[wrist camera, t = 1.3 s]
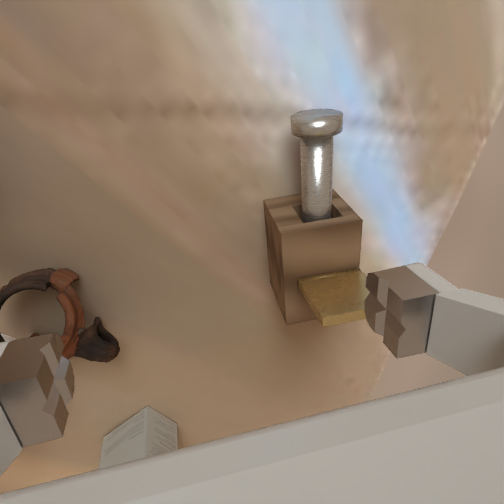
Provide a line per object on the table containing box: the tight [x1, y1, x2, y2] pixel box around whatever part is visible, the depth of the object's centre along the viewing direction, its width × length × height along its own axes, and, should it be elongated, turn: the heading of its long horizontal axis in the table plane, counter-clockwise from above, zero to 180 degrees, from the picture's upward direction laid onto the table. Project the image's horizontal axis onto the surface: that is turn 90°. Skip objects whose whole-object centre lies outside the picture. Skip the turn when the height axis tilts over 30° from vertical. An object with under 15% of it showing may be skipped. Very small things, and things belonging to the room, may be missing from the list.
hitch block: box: [264, 189, 363, 325], centre depth 37 cm, size 10×7×7 cm
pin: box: [291, 109, 343, 223], centre depth 34 cm, size 16×4×4 cm, turn 5°
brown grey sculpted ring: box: [0, 268, 120, 362], centre depth 37 cm, size 12×10×8 cm
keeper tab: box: [297, 268, 370, 327], centre depth 31 cm, size 7×6×1 cm
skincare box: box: [99, 406, 178, 469], centre depth 45 cm, size 8×6×15 cm
